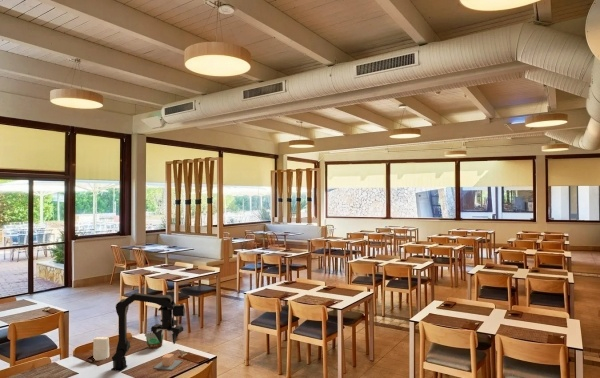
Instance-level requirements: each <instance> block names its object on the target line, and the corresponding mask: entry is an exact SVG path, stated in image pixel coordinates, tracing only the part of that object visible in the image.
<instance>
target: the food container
mask: <svg viewBox="0 0 600 378" xmlns="http://www.w3.org/2000/svg"><path fill="white" fill-rule="evenodd" d="M161 334H162V341H161V343H160V342H159V340H158V338H157V337H156V335H155V334H154V333H153V332H149V333H147V332H145V334H144V337H145V340H146V347H147V348H148V349H150V350H155V349H159V348H161V347H163V339H164V334H165V330H162V333H161Z"/></svg>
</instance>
